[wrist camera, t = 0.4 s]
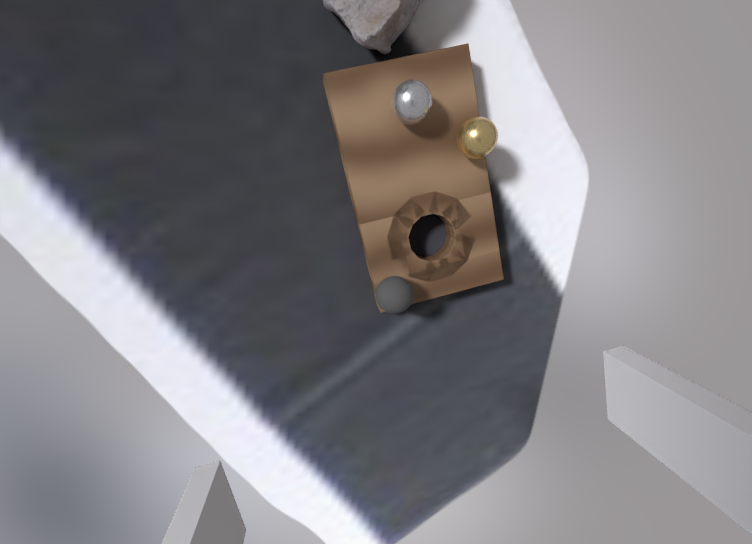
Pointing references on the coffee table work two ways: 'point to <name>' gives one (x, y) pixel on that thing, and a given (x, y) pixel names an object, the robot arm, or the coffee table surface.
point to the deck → (416, 172)
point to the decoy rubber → (394, 294)
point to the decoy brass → (477, 137)
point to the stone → (374, 20)
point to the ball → (411, 102)
